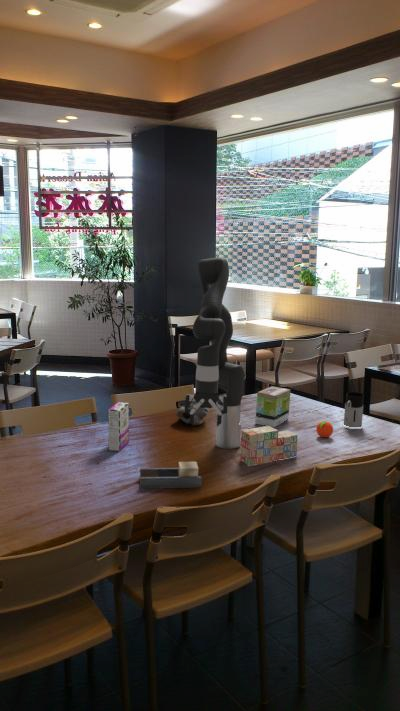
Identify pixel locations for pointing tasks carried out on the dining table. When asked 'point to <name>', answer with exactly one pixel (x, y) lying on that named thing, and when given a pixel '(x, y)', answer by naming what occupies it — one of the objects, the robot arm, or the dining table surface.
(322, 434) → the clementine
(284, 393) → the tea box
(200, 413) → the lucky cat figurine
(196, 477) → the chute
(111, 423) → the candy bar box
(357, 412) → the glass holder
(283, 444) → the stack of blocks
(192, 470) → the birch block
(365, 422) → the dining table surface
